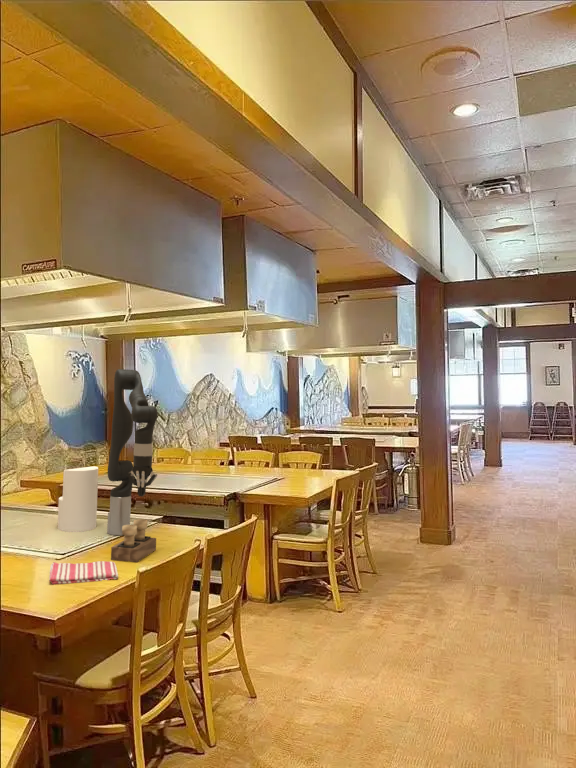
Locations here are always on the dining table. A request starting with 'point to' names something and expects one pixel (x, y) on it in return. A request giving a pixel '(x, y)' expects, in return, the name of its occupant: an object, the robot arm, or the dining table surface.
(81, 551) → the dining table surface
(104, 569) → the dish towel
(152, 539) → the socket block
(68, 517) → the cylinder
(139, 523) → the peg
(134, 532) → the peg
